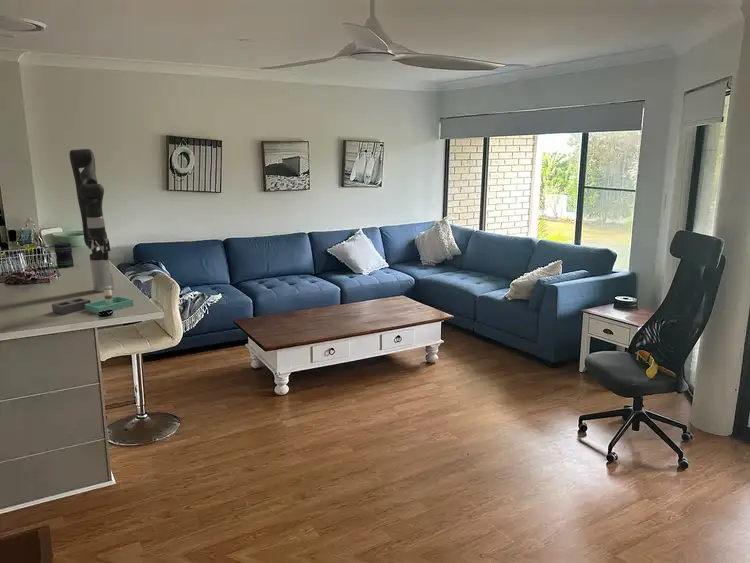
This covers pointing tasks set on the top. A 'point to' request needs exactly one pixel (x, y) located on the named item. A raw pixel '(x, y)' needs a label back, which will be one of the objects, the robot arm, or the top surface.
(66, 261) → the storage jar
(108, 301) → the fuse
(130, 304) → the tray
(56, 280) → the top surface
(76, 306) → the block
